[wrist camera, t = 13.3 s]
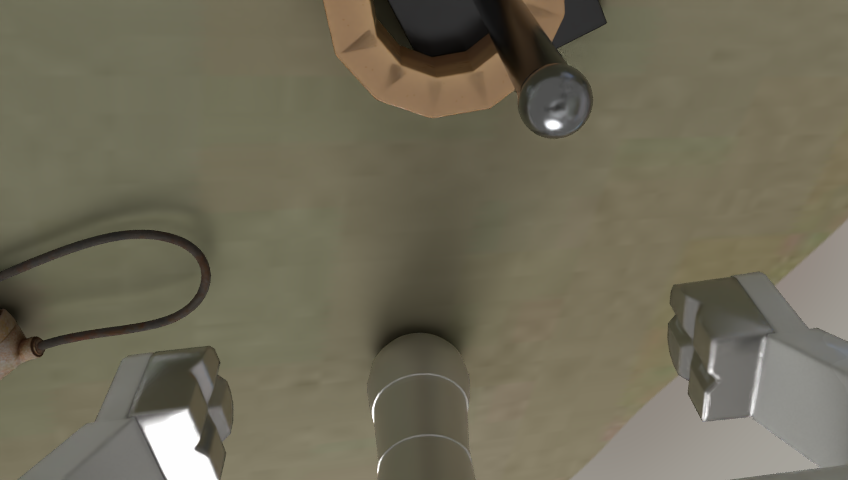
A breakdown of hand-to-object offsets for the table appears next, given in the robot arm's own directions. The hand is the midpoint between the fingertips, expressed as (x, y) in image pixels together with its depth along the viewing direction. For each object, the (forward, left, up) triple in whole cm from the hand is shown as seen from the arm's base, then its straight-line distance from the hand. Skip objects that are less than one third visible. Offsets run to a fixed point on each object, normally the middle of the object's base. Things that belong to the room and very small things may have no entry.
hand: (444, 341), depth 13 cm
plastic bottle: (+10, +22, -27) cm, 36 cm away
